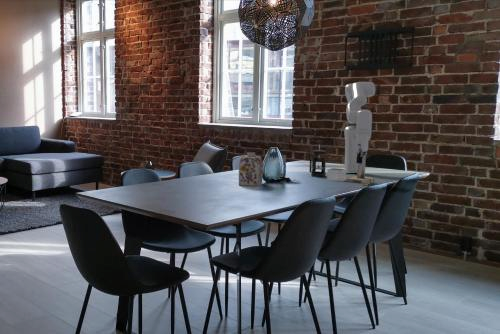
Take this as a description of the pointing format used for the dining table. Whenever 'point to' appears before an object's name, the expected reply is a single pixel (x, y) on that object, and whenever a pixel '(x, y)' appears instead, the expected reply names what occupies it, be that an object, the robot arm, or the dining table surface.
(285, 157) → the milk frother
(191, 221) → the dining table surface
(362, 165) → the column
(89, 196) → the dining table surface
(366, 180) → the tan flat square block
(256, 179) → the decorative jar
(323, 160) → the black lantern
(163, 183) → the dining table surface
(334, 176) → the stand base
